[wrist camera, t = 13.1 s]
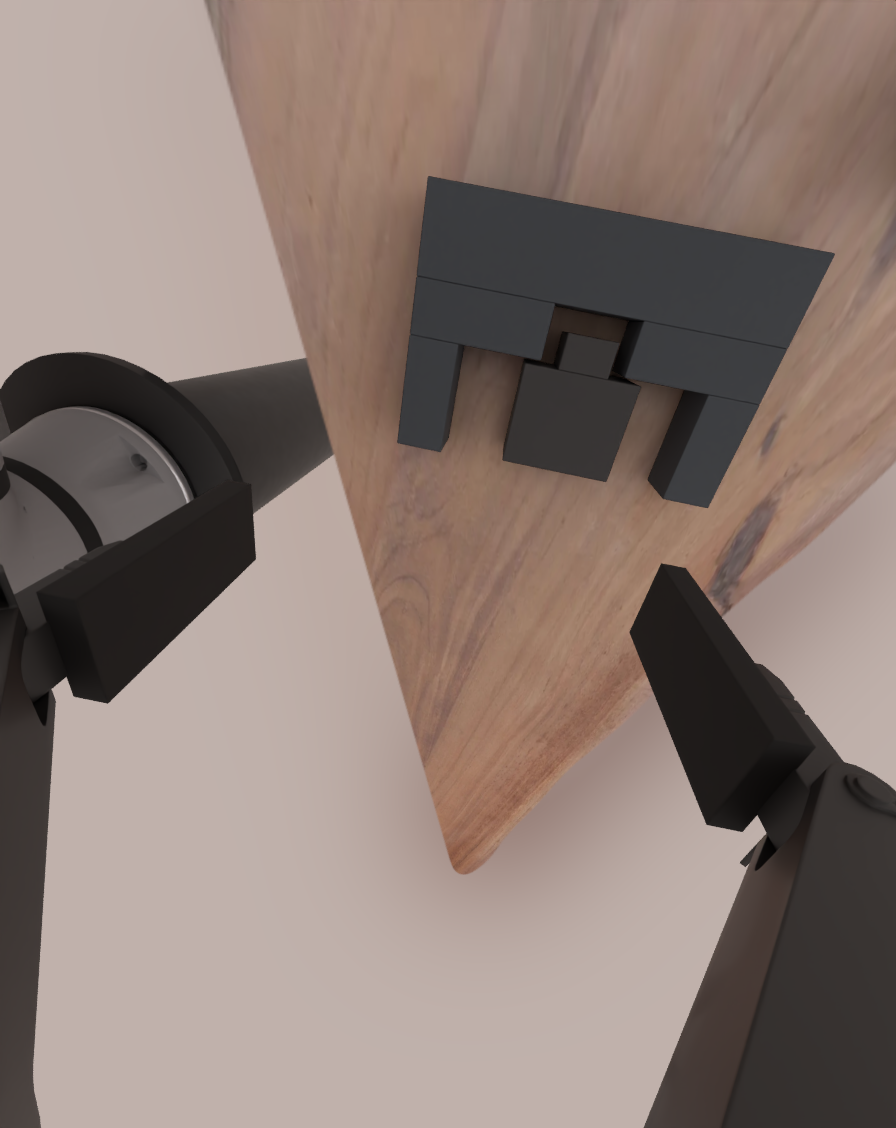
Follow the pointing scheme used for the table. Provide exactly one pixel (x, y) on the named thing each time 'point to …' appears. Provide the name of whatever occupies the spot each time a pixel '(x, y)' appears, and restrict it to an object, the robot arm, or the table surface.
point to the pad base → (606, 312)
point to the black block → (571, 410)
